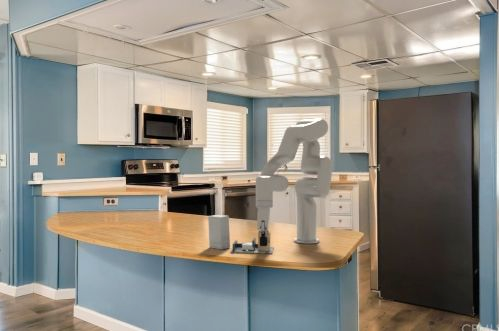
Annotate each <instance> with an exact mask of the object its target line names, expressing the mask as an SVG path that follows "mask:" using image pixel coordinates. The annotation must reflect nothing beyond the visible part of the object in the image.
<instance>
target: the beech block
mask: <svg viewBox="0 0 499 331" xmlns="http://www.w3.org/2000/svg"><path fill="white" fill-rule="evenodd" d="M257 244H258V251H270V247H271V231H270V230H268V231H267V246H260V230H258V232H257Z"/></svg>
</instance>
